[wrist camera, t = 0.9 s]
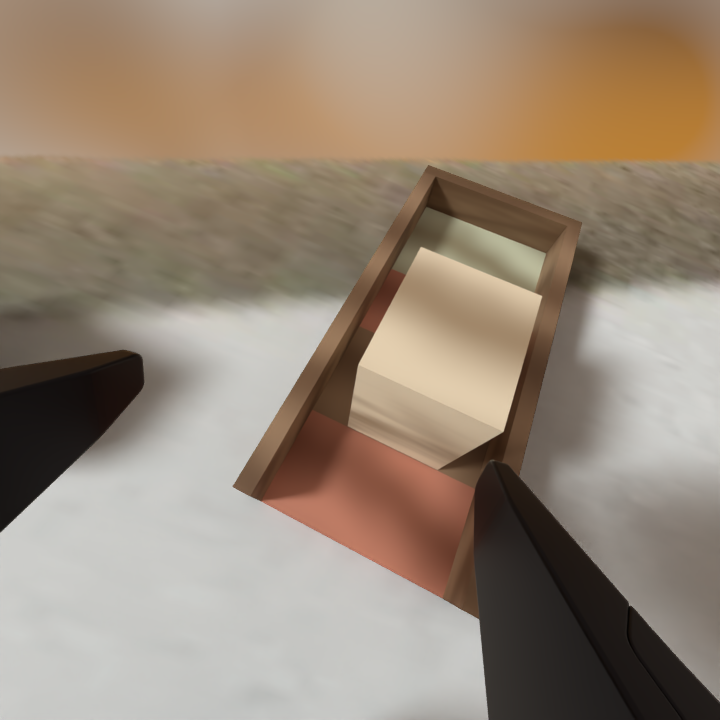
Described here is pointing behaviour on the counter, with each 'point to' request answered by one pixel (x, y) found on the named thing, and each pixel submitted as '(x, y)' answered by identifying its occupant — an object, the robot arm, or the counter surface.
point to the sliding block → (443, 361)
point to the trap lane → (378, 461)
